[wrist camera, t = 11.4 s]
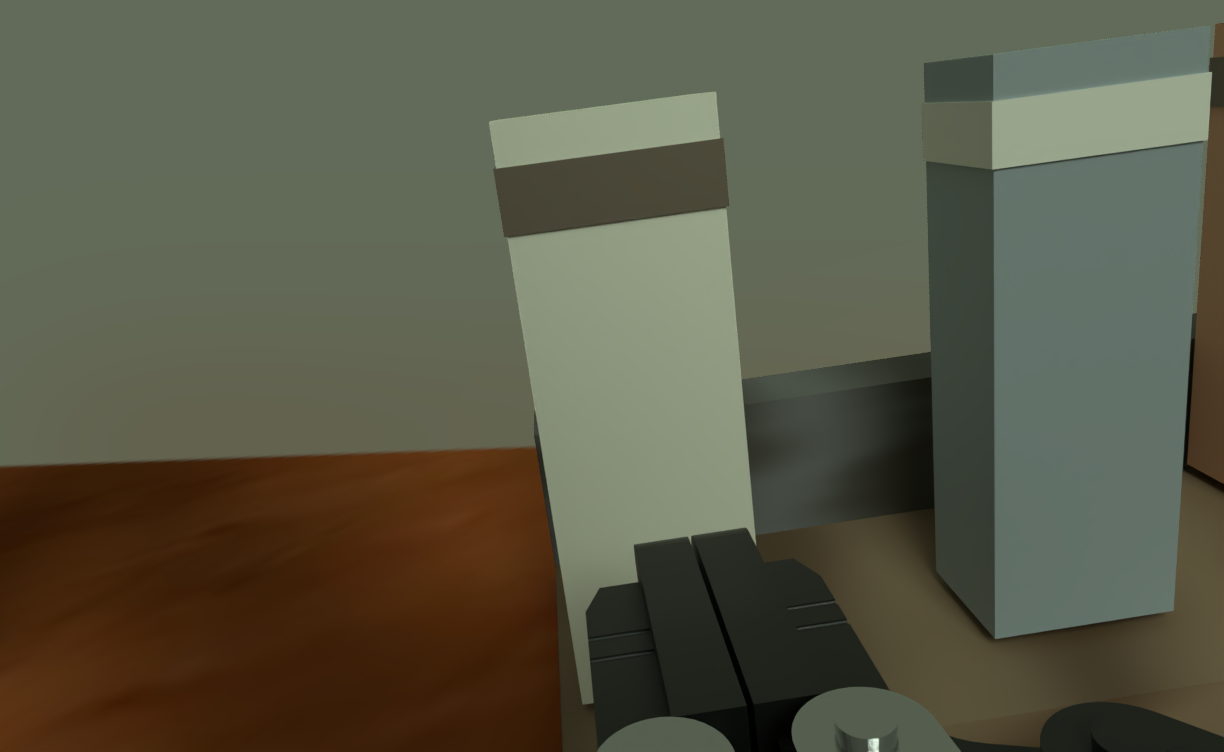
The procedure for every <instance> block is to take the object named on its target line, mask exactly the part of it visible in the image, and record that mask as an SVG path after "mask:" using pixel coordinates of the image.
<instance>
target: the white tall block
mask: <svg viewBox="0 0 1224 752" xmlns="http://www.w3.org/2000/svg"><path fill="white" fill-rule="evenodd" d="M489 126H490V132H491V138H492V144H493V151H494V157H495V163H496V166H495V168H494V176H495V182H496V188H497V195H498V200H499V207H500V213H501V219H502V225H503V232H504V237H508V244H509V250H510V257H511V263H512V269H513V275H514V282H515V288H516V294H517V300H518V306H519V312H520V319H521V325H522V331H523V337H524V344H525V349H526V356H527V362H528V369H529V375H530V381H531V387H532V393H533V400H534V406H535V412H536V418H537V424H538V431H539V437H540V443H541V449H542V456H543V462H544V468H545V474H546V480H547V487H548V493H549V499H550V505H551V512H552V518H553V524H554V530H555V536H556V543H557V549H558V555H559V561H560V567H561V574H562V580H563V586H564V592H565V599H566V605H567V611H568V617H569V623H570V630H571V636H572V642H573V648H574V654H575V661H576V667H577V673H578V679H579V686H580V692H581V698H582V704H583V705H584V704H590V703H594V701H593V690H592V679H591V668H590V657H589V646H588V635H587V624H586V613H585V612H586V610H587V609H588V607H589V605H590V604H591V602H592V600H593V598H594V597H595V595H596V593H597V592H598V590H599V588H602V587H609V586H616V585H622V584H629V583H635V582H638V578H637V571H636V563H635V555H634V544H640V543H647V542H653V541H660V540H667V539H673V538H680V537H688V538H689V540H690V543H691V536H692V535H699V534H705V533H712V532H718V531H725V530H732V529H738V528H747V529H748V531H749V533H750V535H751V537H752V539H753V541H754V543H755V545H756V538H755V526H754V515H753V504H752V493H751V481H750V470H749V459H748V448H747V437H746V425H745V414H744V403H743V392H742V380H741V370H740V358H739V348H738V335H737V326H736V325H737V324H736V313H735V302H734V291H733V279H732V268H731V257H730V246H729V234H728V223H727V212H726V206H729V198H728V186H727V176H726V164H725V152H724V141H723V138H720V133H719V122H718V111H717V100H716V92H707V93H698V94H689V95H682V96H674V97H667V98H659V99H652V100H644V101H637V102H629V103H622V104H614V105H607V106H599V107H592V108H584V109H577V110H569V111H562V112H554V113H546V114H539V115H531V116H524V117H516V118H510V119H501V120H495V121H490V122H489Z"/></svg>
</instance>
